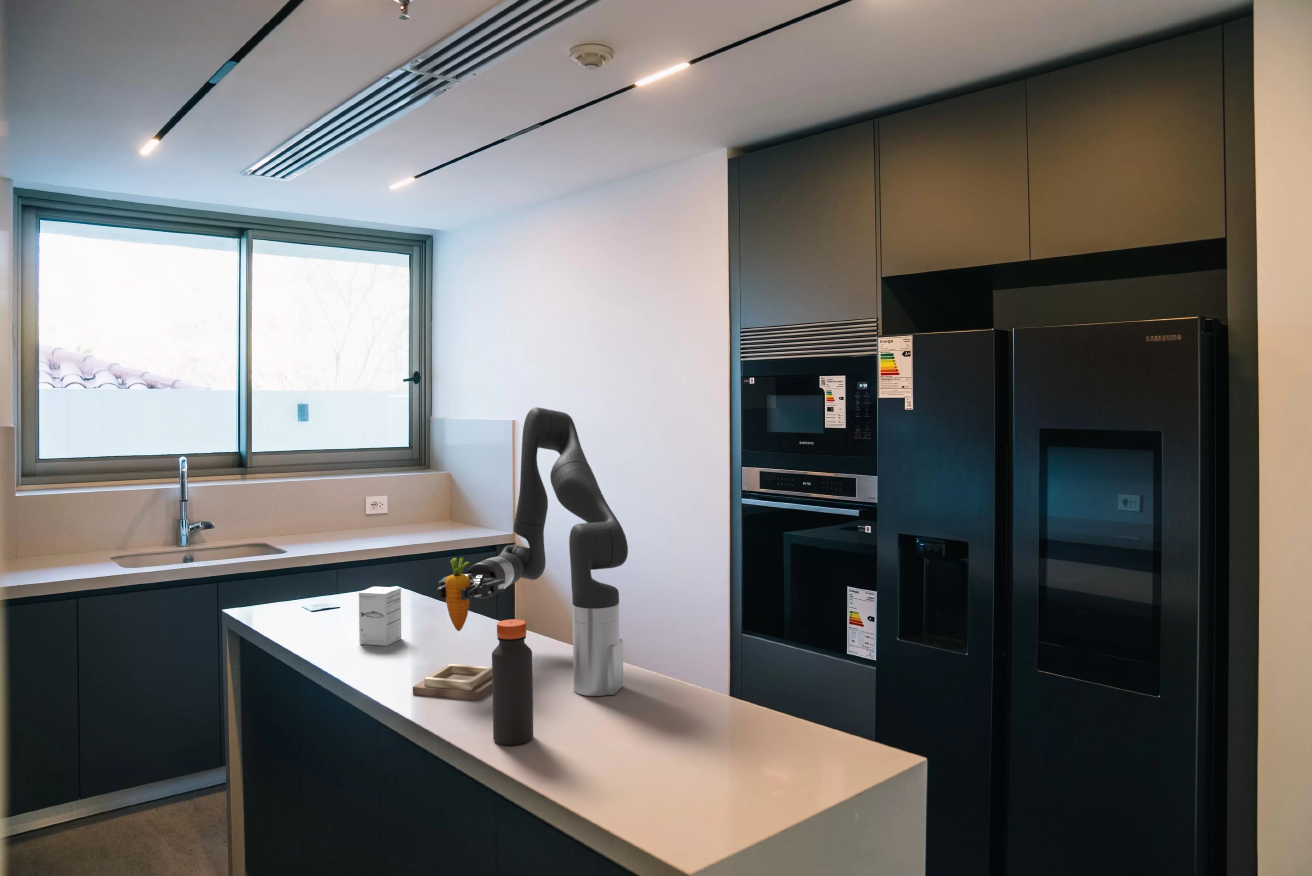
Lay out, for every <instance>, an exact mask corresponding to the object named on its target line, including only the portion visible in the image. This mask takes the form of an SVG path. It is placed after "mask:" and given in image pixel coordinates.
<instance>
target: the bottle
mask: <svg viewBox="0 0 1312 876" xmlns="http://www.w3.org/2000/svg"><path fill="white" fill-rule="evenodd" d="M526 635H527V622H526V621H525V620H523V619H517V618H516V619H515V618H514V619H512V618H511V619H503V620H501V621H498V622H497V623H496V637H497V640H498V645H497V646H495V648H494V649H493V651H492V652H491V667H492V733H493V734H492V736H493V737H492V739H493V741H494V742H495V743H496V744H497V745H500V746H506V747H507V746H509V747H510V746H511V747H513V746H519V745H524V744H527V743H528V742H531V740H532V739H533V738H534V699H533V697H534V695H533V693H534V691H533V689H534V688H533V680H534V679H533V651H532V649H531V648H530V647H529V645H527V643H525V639H526V638H527V636H526Z"/></svg>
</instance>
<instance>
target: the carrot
mask: <svg viewBox="0 0 1312 876" xmlns="http://www.w3.org/2000/svg"><path fill="white" fill-rule="evenodd" d="M458 560H459V561H458ZM463 560H464V557H460V558H459V559H457V557H453V558H452V559H451V560H450V561H449V563H450V565H451V567H452V572H453V574H450V575H447V576H448V577H447V578H446V579H445V593H446V597H445V602H446V603H445V604H446V607H447V611H448V616H449V619H450V621H451V623H452V625H453V627H454V628H455V630H456V631H457V632H460V631H461V630H462V629H463V627H464V625H465V623H466V620H467V618H468V614H469V609H470V608H469V607H470V602H471V598H470V599H467V600H462V599H461V590H462V589H464V588H466V587H468V586H470V578H469V577H468V576H466V575H465V574H466V573H463V571H464V569H465V568H466V567H467V566H468V565H470V562H469V561H466V562H463Z"/></svg>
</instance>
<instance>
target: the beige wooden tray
mask: <svg viewBox="0 0 1312 876" xmlns="http://www.w3.org/2000/svg"><path fill="white" fill-rule="evenodd" d="M491 691H492V666H491V667H489V666H478V665H469V664H468V665H467V664H457V663H456V664H455V663H454V664H453V663H449V664H447V665H445V666H444V667H441V668H440V669H439V670H436V671H435V672H433V673H432V674H430V675H428V676H426V677H425V678H424V680H421V681H420V682H418V683H417V684H415V685H413V686H412V695H414V696H415V695H416V696H428V697H437V698H445V699H446V698H448V699H458V700H467V701H470V700H471V701H479V700H480V699H482V698H483V697H485V696H486V695H487V694H488V693H489V694H490V693H491Z"/></svg>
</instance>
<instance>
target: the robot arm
mask: <svg viewBox="0 0 1312 876" xmlns="http://www.w3.org/2000/svg"><path fill="white" fill-rule="evenodd" d="M523 422H524V424H523V426H522V428H523V429H522V438H521V457H520V479H519V480H520V481H519V491H518V492H519V495H518V501H517V506H516V512H515V518H514V522H513V523H514V524H513V533H514V534H515V535H517V536H520V537H521V538H523V539H525V540H526V542H527V543H528V547H526V546H522V545H517V544H510V545H506V546H505V547H504V548H503V549H502V551H501V552H500V554H499V555H498V556H494V557H489V558H487V559H484V560H481V561H479V562H477V563H475V564H473V565H471V566H470V567H469V568H467V571H466V573H464V574H465V575H466V576H468V577H469V578H470V586H468V587H466V588H464V589H462V590H461V599H462V600H467V599H470V600H471V598H477V599H478V598H479V599H487V598H489V597H492V596H494V595H496V594H500V593H504V592H505V589H506V588H508V587H509V586H512V585H513V584H515V583H517V582H518V581H519V580H520V579H521V578H522V579H526V580H532V581H535V580H538V579H540V577H541V576H542V575H543V574H544V571H545V569H546V565H547V564H546V562H547V561H546V552H545V536H544V535H545V533H544V531H545V525H546V519H547V514H548V509H549V507H548V506H549V499H548V494H547V490H546V488H545V485H544V483H543V480H542V476H541V473H540V470H539V467H538V451H539V450H538V449H544V450H551V451H555V452H557V453H558V454H559V457H558V458H557V460H555V462H554V464H553V465H552V467H551V470H550V475H549V477H550V483H551V486H552V489H553V491H554V494H555V497H556V499H557V501H558V502H559V503H560V505H561V506H563V507H564V509H566V510H567V511H569V512H570V513H572V514H573V515H575V516H576V517H578V518H579V519H581V520H583V521H584V522H581V523H576V524H574V525H573V526H572V528H571V529H570V532H569V533H570V534H569V537H568V539H569V540H568V545H569V546H568V547H569V550H568V551H569V560H570V561H569V562H570V581H571V582H570V583H571V585H570V586H571V594H572V595H571V596H572V598H571V599H572V659H573V660H572V664H573V665H572V667H573V668H572V669H573V670H572V671H573V675H572V676H573V677H572V680H573V681H572V683H573V691H574V692H575V693H576V694H578V695H583V696H589V697H600V696H602V697H603V696H614V695H615V694H617V693H618V692H619V691H620V689H621V688H623V686H624V642H623V641H624V640H623V639H622V638H620V593H619V590H618V588H617V587H615V586H613V585H610V584H607V583H603V582H599V581H598V580H595V578H593V576H592V571H591V570H593V571H594V570H605V569H606V570H607V569H613V568H618V567H621V566H623V564H624V563H625V562H626V561H627V558H628V556H629V555H628V553H629V545H628V541H627V540H628V539H627V537H626V533H625V531H624V529H623V527H622V525H621V523H620V521H619V520H618V519H617V516H616V515H615V514H614V512H613V511H612V509H611V508H610V506H609V505H608V502H607V501H606V499H605V497H604V495H603V493H602V490H601V488H600V486H599V483H598V481H597V478H596V476H595V474H594V472H593V470H592V468H591V466H590V464H589V462H588V460H587V458H586V456H585V452H584V450H583V448H582V445H581V442H580V439H579V435H578V433H577V432H578V431H577V428H576V426H575V425H576V424H575V422H574V420H573V418H572V417H571V416H570V414H568V413H566V412H562V411H560V410H559V411H558V410H554V409H553V410H552V409H547V408H542V407H537V406H536V407H533V408H531V409H529V411H528V413H527V414H526V416H525V419H524V421H523ZM448 576H449V575H446V576H444V577H442V579H441V580H439V581H438V588H437V589H436V597H437V599H440V600H443V599H446V593H445V579H446V578H447V577H448Z"/></svg>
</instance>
